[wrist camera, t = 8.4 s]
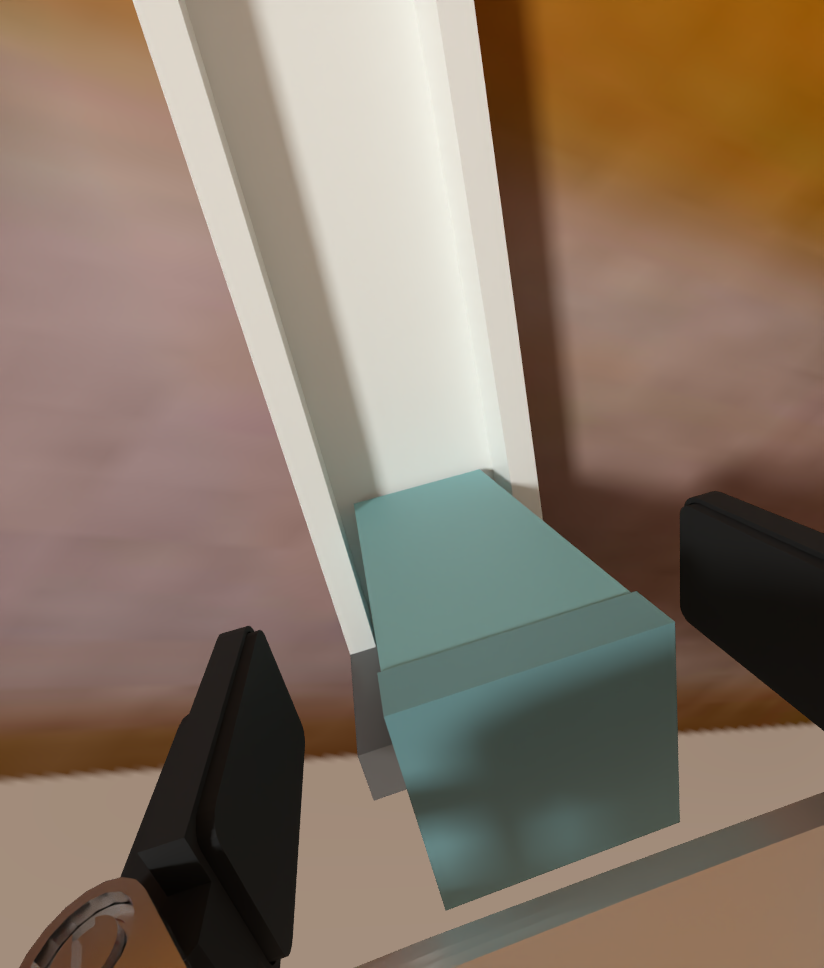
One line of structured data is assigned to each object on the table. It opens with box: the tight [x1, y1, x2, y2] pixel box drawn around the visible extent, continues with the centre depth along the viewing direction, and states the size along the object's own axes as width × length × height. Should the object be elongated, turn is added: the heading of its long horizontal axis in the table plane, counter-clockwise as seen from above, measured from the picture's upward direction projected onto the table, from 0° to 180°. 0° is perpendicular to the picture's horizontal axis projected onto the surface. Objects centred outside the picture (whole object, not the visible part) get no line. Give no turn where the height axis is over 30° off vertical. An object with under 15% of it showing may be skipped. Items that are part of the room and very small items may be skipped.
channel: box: [133, 0, 543, 800], centre depth 10 cm, size 7×21×6 cm, turn 13°
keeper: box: [354, 469, 680, 910], centre depth 10 cm, size 4×4×8 cm
